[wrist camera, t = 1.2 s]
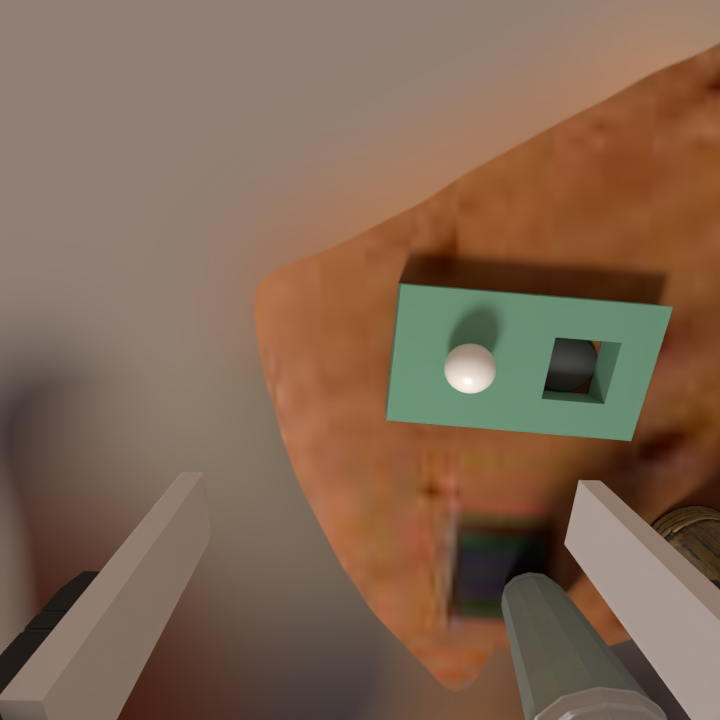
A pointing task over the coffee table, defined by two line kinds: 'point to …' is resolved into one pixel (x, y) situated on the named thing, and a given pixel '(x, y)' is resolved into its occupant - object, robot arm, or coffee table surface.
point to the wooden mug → (694, 537)
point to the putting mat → (524, 360)
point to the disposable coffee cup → (566, 659)
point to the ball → (470, 368)
